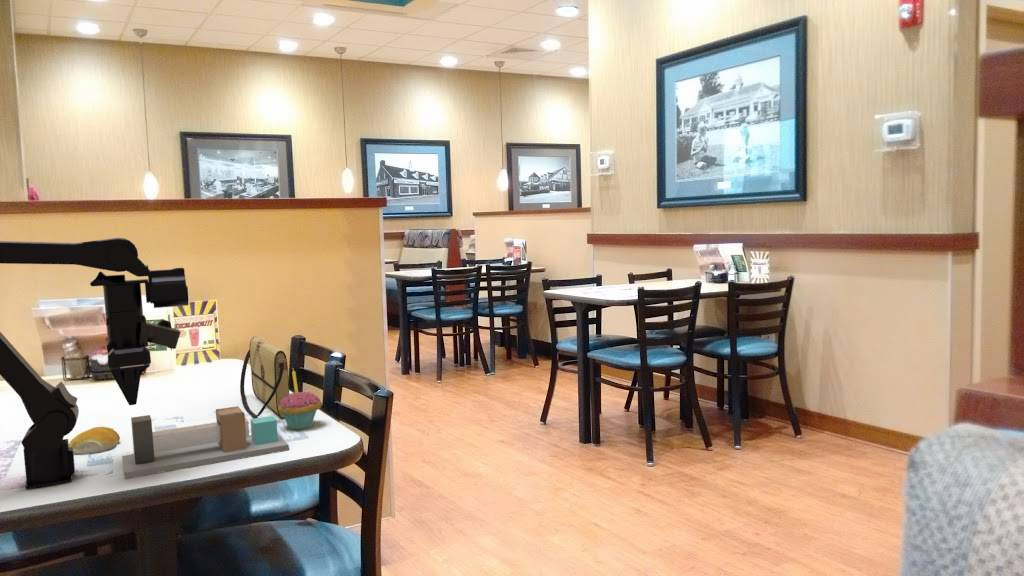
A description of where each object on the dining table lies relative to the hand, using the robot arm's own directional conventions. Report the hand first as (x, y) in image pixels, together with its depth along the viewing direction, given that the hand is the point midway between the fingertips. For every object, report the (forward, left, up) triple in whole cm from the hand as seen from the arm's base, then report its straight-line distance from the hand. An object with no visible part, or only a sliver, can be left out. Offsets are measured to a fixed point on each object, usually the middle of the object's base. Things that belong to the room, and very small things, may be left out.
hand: (131, 399), depth 130 cm
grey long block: (+9, 0, -11) cm, 14 cm away
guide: (+11, 0, -12) cm, 16 cm away
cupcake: (+31, +10, -12) cm, 34 cm away
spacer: (+20, 0, -9) cm, 22 cm away
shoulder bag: (+27, +31, -12) cm, 43 cm away
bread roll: (-6, +18, -13) cm, 23 cm away
